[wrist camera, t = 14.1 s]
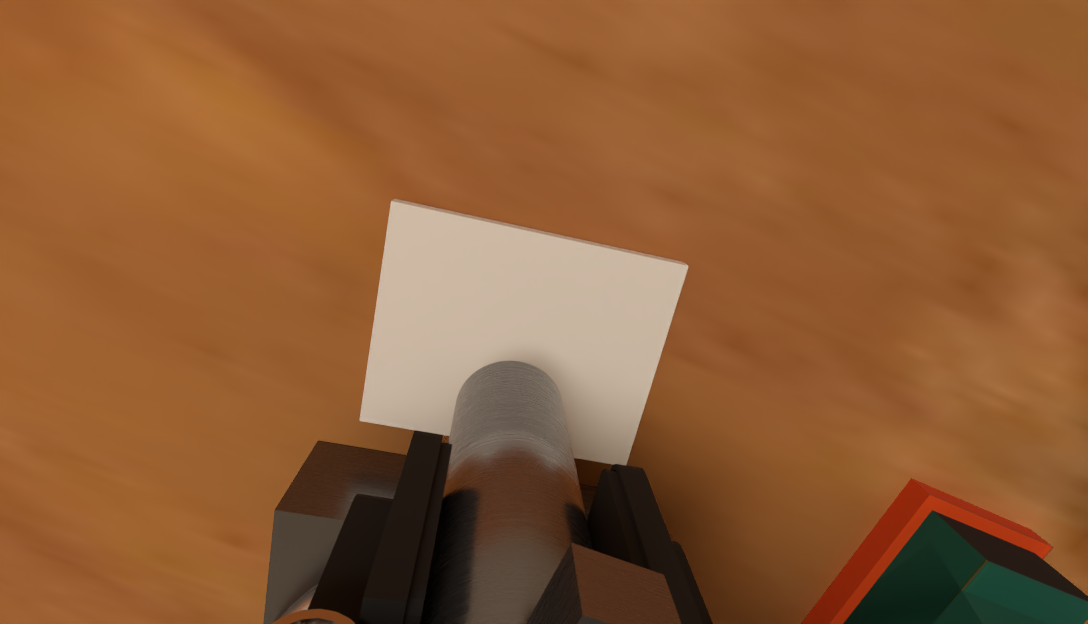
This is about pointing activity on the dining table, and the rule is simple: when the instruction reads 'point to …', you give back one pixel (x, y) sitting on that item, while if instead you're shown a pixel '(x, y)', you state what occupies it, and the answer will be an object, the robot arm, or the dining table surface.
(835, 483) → the dining table surface
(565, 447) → the chuck key
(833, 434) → the dining table surface
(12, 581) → the dining table surface
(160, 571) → the dining table surface
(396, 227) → the key mat
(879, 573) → the power tool
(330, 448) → the stand
